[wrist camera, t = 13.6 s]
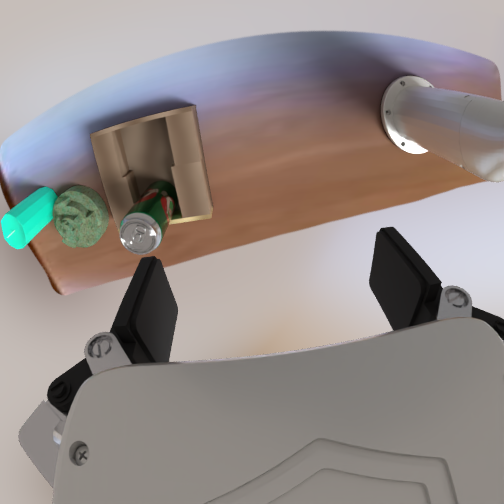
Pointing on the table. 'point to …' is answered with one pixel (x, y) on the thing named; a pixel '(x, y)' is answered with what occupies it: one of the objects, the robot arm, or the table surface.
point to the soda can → (149, 218)
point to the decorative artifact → (80, 216)
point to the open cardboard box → (154, 162)
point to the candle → (28, 217)
